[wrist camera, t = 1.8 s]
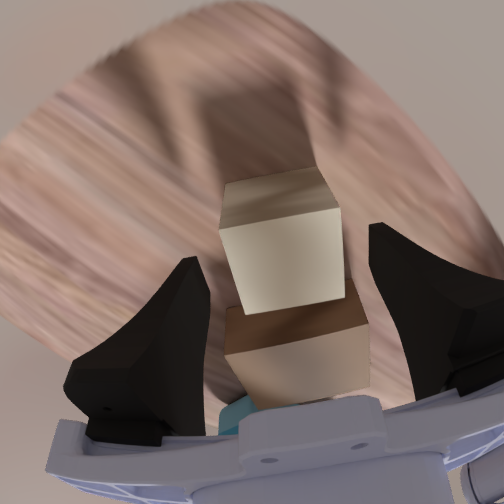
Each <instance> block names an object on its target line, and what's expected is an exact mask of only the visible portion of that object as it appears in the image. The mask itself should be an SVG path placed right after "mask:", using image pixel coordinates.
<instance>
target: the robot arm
mask: <svg viewBox="0 0 504 504" xmlns="http://www.w3.org/2000/svg"><path fill="white" fill-rule="evenodd" d="M369 267H370V270H371V273H372V276H373V278H374V281H375V284H376V286H377V288H378V290H379V292H380V294H381V296H382V298H383V300H384V302H385V304H386V306H387V308H388V310H389V312H390V315H391V317H392V319H393V321H394V323H395V325H396V328H397V330H398V333H399V336H400V339H401V342H402V346H403V349H404V352H405V356H406V359H407V363H408V367H409V371H410V375H411V379H412V384H413V388H414V394H415V399H416V401H415V402H412V403H409V404H405V405H402V406H398V407H395V408H391V409H387V410H383V411H382V407H381V404H380V401H379V399H377V398H375V397H371V396H367V395H357V396H347V397H343V398H338V399H333V400H327V401H322V402H316V403H311V404H305V405H298V406H292V407H285V408H277V409H269V410H264V411H260V412H256V413H251V414H250V415H248V416H247V417H245V418H244V419H242V420H241V421H239V429H238V434H236V435H219V436H206V432H205V419H204V395H203V365H204V354H205V347H206V340H207V333H208V326H209V319H210V290H209V288H208V285H207V283H206V280H205V277H204V275H203V272H202V269H201V267H200V264H199V261H198V259H197V256H193V257H188V258H183V259H182V260H181V261H180V262H179V264H178V265H177V266H176V267H175V269H174V270H173V271H172V273H171V274H170V275H169V277H168V278H167V279H166V281H165V282H164V283H163V284H162V286H161V287H160V288H159V289H158V291H157V292H156V293H155V294H154V295H153V297H152V298H151V299H150V300H149V301H148V302H147V304H146V305H145V306H144V307H143V308H142V309H141V310H140V311H139V312H138V313H137V314H136V315H135V316H134V317H133V318H132V319H131V320H130V321H129V322H128V323H126V324H125V325H124V326H123V327H122V328H121V329H119V330H118V331H117V332H116V333H115V334H113V335H112V336H111V337H109V338H108V339H107V340H105V341H104V342H103V343H101V344H100V345H98V346H97V347H95V348H94V349H92V350H90V351H89V352H87V353H85V354H84V355H82V356H80V357H78V358H77V359H75V360H73V362H72V364H71V367H70V369H69V372H68V375H67V378H66V380H65V383H64V386H63V389H64V392H65V394H66V396H67V397H68V399H69V400H71V402H72V403H73V404H75V406H77V407H78V408H79V409H80V410H81V411H82V412H83V413H84V414H86V415H87V416H88V417H89V420H88V424H85V423H83V422H79V421H73V420H64V419H60V420H59V423H58V425H57V429H56V432H55V435H54V439H53V442H52V446H51V450H50V453H49V457H48V461H47V465H46V469H45V471H46V472H47V473H49V474H50V475H52V476H54V477H56V478H58V479H59V480H61V481H63V482H65V483H67V484H69V485H71V486H73V487H75V488H76V489H79V490H81V491H83V492H86V493H90V494H93V495H97V496H102V497H106V498H110V499H115V500H119V501H124V502H129V503H134V504H454V500H453V495H452V491H451V487H450V484H449V480H448V476H447V472H449V471H451V470H453V469H456V468H457V467H460V466H462V465H463V466H462V468H461V472H460V480H461V486H462V490H463V493H464V496H465V499H466V501H467V503H468V504H504V502H502V503H494V502H495V501H497V500H499V499H501V498H503V497H504V280H499V279H495V278H491V277H488V276H484V275H481V274H478V273H475V272H472V271H469V270H467V269H464V268H462V267H459V266H457V265H454V264H452V263H450V262H448V261H446V260H444V259H442V258H440V257H438V256H436V255H434V254H432V253H431V252H429V251H427V250H425V249H424V248H422V247H420V246H419V245H417V244H416V243H414V242H412V241H411V240H409V239H408V238H406V237H405V236H403V235H402V234H400V233H399V232H397V231H396V230H394V229H393V228H391V227H390V226H388V225H386V224H385V223H383V222H380V223H375V224H369Z"/></svg>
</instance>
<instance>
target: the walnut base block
mask: <svg viewBox="0 0 504 504" xmlns="http://www.w3.org/2000/svg"><path fill="white" fill-rule="evenodd" d="M344 283H345V298H340V299H335V300H329V301H324V302H319V303H313V304H308V305H302V306H297V307H291V308H285V309H279V310H273V311H267V312H261V313H255V314H248V315H245V312H244V309H243V306H242V305H241V306H236V307H232V308H227V310H226V326H225V342H224V357H225V358H226V360H227V362H228V363H229V365H230V367H231V368H232V370H233V371H234V373H235V375H236V376H237V378H238V379H239V381H240V383H241V384H242V386H243V387H244V389H245V390H246V392H247V394H248V395H249V397H250V398H251V400H252V401H253V403H254V404H255V406H256V407H257V409H258V410H262V409H269V408H275V407H281V406H287V405H292V404H297V403H303V402H308V401H313V400H317V399H322V398H327V397H331V396H335V395H340V394H344V393H348V392H352V391H356V390H360V389H363V388H367V387H370V342H369V323H368V320H367V317H366V314H365V312H364V309H363V306H362V303H361V301H360V298H359V295H358V293H357V290H356V288H355V285H354V282H353V280H352V279H349V280H345V281H344Z"/></svg>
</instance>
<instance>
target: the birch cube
mask: <svg viewBox="0 0 504 504" xmlns="http://www.w3.org/2000/svg"><path fill="white" fill-rule="evenodd" d="M219 233H220V236H221V239H222V243H223V246H224V249H225V252H226V255H227V259H228V262H229V265H230V268H231V271H232V274H233V278H234V281H235V284H236V287H237V290H238V293H239V296H240V300H241V303H242V306H243V309H244V312H245V315H248V314H255V313H261V312H267V311H273V310H279V309H285V308H291V307H297V306H302V305H308V304H313V303H319V302H324V301H329V300H335V299H340V298H345V283H344V258H343V240H342V224H341V211H340V206H339V204H338V202H337V201H336V199H335V197H334V195H333V193H332V192H331V190H330V188H329V186H328V185H327V183H326V181H325V179H324V178H323V176H322V174H321V172H320V171H319V169H318V167H317V166H316V167H310V168H304V169H298V170H292V171H287V172H281V173H276V174H271V175H265V176H260V177H255V178H250V179H245V180H240V181H235V182H231V183H226V184H225V191H224V197H223V204H222V210H221V217H220V224H219Z"/></svg>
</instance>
